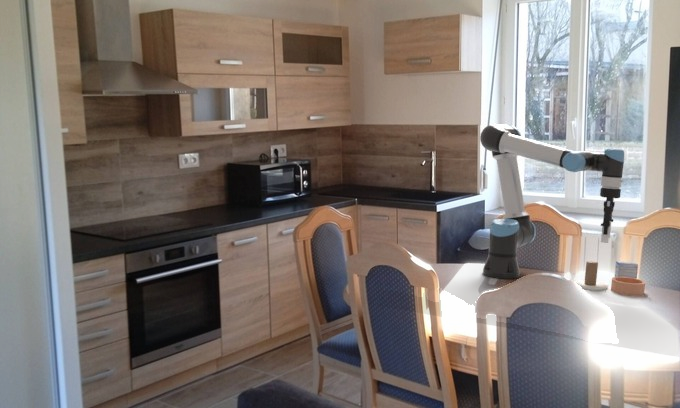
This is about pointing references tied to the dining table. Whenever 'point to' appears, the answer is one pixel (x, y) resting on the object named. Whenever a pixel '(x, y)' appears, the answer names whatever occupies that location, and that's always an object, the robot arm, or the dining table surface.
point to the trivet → (601, 290)
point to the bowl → (628, 286)
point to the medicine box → (626, 269)
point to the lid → (591, 278)
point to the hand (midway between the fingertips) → (605, 240)
